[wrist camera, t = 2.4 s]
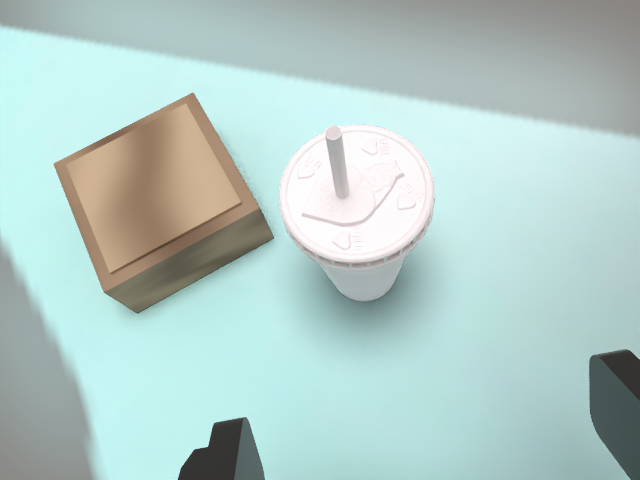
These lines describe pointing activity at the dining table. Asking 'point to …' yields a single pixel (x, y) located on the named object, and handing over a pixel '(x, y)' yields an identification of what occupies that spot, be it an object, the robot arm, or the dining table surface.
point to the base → (160, 204)
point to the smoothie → (357, 205)
